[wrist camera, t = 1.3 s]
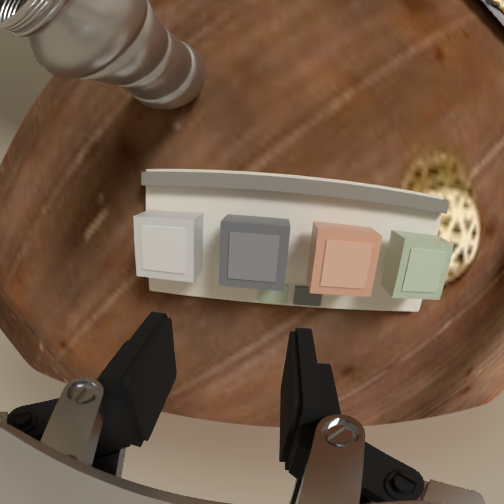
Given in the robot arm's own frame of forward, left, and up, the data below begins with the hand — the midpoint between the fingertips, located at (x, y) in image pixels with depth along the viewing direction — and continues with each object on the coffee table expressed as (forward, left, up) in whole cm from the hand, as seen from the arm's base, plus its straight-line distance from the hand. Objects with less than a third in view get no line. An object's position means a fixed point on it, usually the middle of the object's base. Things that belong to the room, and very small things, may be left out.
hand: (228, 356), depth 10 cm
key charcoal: (0, 0, -15) cm, 15 cm away
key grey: (+7, 0, -15) cm, 16 cm away
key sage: (-14, 0, -15) cm, 20 cm away
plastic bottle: (+9, -14, -18) cm, 24 cm away
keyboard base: (-3, 0, -17) cm, 18 cm away
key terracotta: (-7, 0, -15) cm, 16 cm away
